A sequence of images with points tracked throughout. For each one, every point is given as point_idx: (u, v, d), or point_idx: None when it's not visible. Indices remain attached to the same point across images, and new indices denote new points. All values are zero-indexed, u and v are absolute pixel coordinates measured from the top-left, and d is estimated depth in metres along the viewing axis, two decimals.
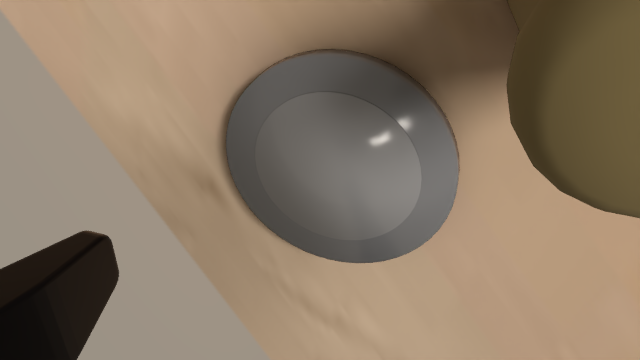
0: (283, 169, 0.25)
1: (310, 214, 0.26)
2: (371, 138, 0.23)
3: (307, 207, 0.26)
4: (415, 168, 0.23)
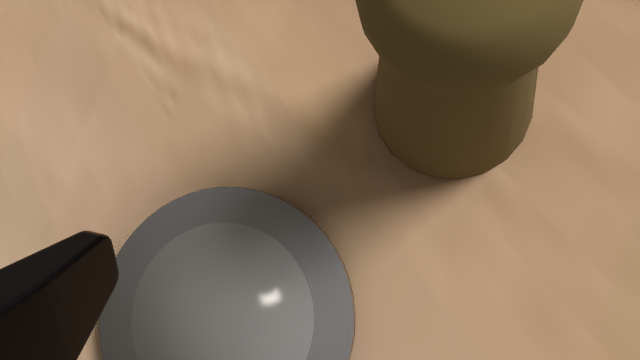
0: (161, 324, 0.22)
1: None
2: (261, 272, 0.22)
3: None
4: (307, 302, 0.21)
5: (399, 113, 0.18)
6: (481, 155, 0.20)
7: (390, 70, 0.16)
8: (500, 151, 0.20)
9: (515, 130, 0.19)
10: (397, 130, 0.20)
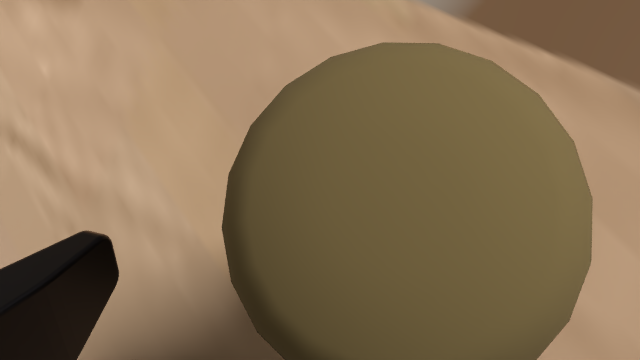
0: None
1: None
2: None
3: None
4: None
5: None
6: None
7: None
8: None
9: None
10: None
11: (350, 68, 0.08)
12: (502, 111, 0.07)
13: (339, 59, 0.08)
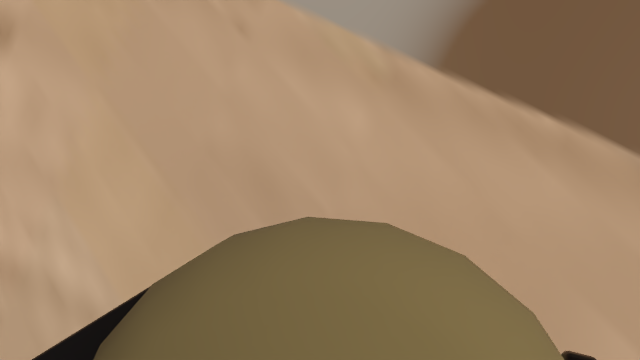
0: None
1: None
2: None
3: None
4: None
5: None
6: None
7: None
8: None
9: None
10: None
11: (233, 290, 0.05)
12: None
13: (221, 265, 0.05)
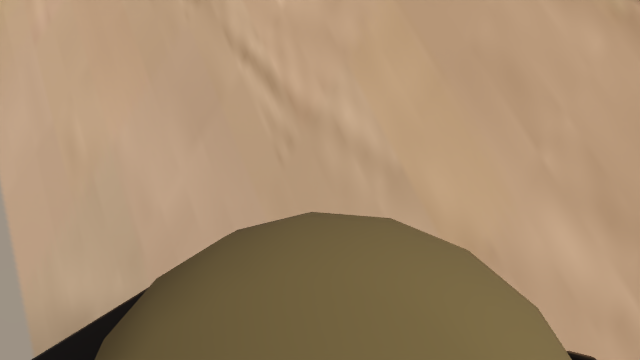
0: None
1: None
2: None
3: None
4: None
5: None
6: None
7: None
8: None
9: None
10: None
11: (236, 284, 0.05)
12: None
13: (225, 260, 0.05)
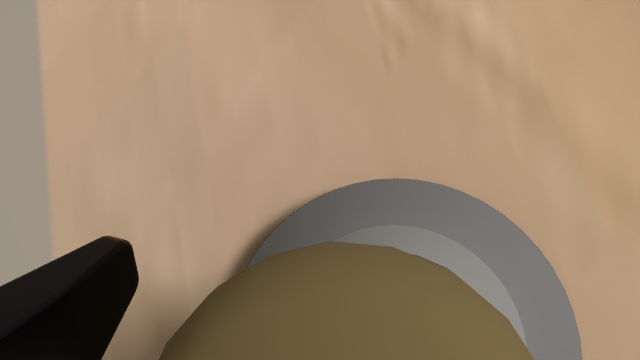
0: None
1: None
2: None
3: None
4: None
5: None
6: None
7: None
8: None
9: None
10: None
11: (276, 301, 0.06)
12: None
13: (266, 282, 0.07)
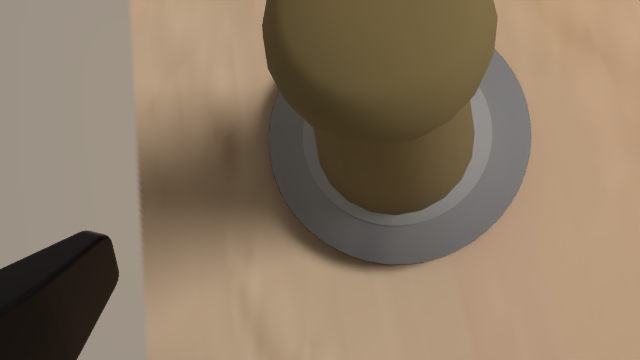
0: None
1: None
2: None
3: None
4: (485, 146, 0.21)
5: (327, 151, 0.18)
6: (414, 195, 0.19)
7: None
8: (434, 191, 0.20)
9: (448, 172, 0.19)
10: (329, 165, 0.19)
11: None
12: None
13: None
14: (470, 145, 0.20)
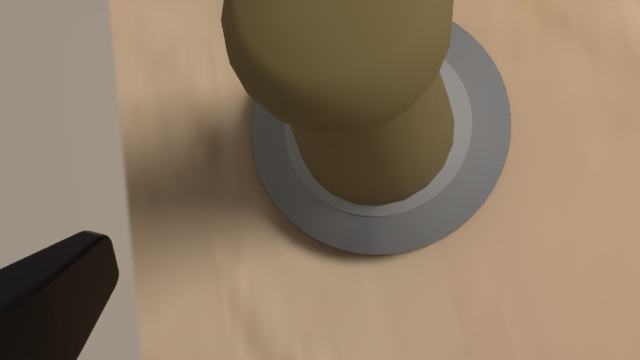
0: None
1: None
2: None
3: None
4: (465, 132, 0.21)
5: (303, 144, 0.18)
6: (394, 184, 0.19)
7: None
8: (415, 180, 0.20)
9: (426, 160, 0.19)
10: (309, 159, 0.19)
11: None
12: None
13: None
14: (448, 132, 0.20)
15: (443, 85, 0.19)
